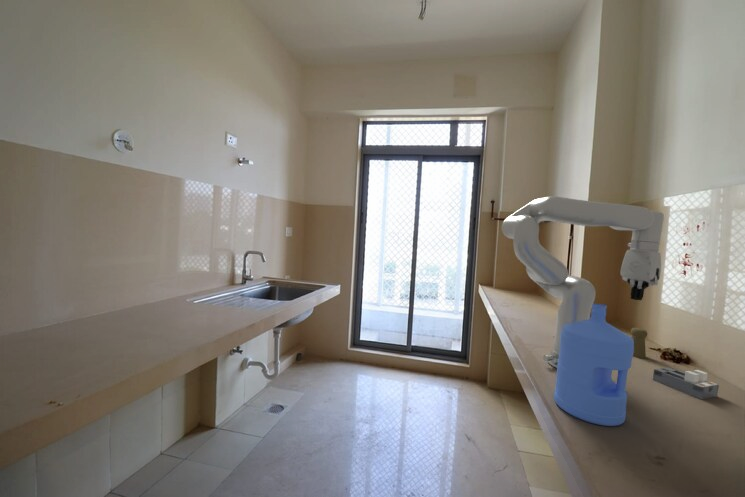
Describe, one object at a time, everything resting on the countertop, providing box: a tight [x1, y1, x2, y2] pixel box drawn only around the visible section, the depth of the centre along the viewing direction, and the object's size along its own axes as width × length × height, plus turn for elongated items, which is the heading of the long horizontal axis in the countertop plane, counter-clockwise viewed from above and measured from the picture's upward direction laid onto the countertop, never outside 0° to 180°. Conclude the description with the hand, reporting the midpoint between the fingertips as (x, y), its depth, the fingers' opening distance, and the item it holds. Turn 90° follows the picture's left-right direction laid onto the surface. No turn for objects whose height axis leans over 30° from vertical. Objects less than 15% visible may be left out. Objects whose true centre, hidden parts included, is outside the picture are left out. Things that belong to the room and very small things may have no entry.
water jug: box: [553, 303, 634, 427], centre depth 84 cm, size 16×16×28 cm
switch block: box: [652, 367, 720, 400], centre depth 102 cm, size 8×12×4 cm, turn 19°
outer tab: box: [693, 369, 709, 383], centre depth 100 cm, size 2×2×4 cm
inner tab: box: [684, 370, 699, 384], centre depth 99 cm, size 2×2×4 cm
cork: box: [630, 327, 648, 359], centre depth 129 cm, size 6×6×11 cm
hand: (636, 299), depth 111 cm, fingers closed
